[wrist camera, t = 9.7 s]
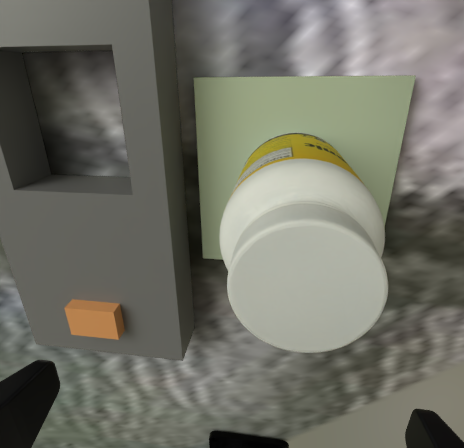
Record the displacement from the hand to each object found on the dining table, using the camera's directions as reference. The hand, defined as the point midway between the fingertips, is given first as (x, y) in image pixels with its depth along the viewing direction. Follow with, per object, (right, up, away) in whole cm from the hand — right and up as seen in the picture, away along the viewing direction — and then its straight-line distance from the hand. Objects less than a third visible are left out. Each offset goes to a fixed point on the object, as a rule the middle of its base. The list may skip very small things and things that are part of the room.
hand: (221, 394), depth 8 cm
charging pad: (+4, +7, +9) cm, 12 cm away
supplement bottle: (+4, +7, +9) cm, 12 cm away
